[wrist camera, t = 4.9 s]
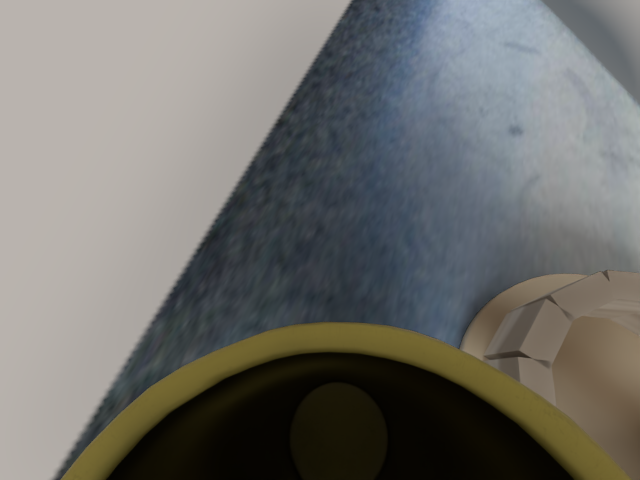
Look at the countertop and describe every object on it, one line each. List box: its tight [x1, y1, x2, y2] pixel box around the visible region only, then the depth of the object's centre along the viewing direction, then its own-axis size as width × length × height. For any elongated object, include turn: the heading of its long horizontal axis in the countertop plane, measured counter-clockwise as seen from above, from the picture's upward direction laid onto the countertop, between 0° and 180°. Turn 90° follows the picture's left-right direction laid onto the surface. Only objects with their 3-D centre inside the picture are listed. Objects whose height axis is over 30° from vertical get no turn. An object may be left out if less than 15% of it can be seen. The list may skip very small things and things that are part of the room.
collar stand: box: [459, 270, 640, 480], centre depth 14 cm, size 12×12×4 cm
